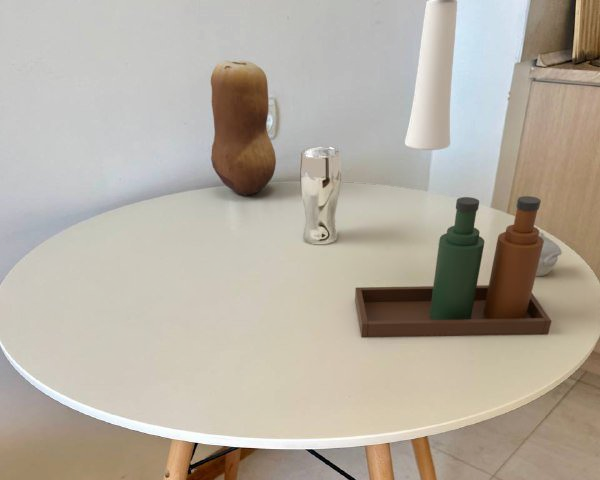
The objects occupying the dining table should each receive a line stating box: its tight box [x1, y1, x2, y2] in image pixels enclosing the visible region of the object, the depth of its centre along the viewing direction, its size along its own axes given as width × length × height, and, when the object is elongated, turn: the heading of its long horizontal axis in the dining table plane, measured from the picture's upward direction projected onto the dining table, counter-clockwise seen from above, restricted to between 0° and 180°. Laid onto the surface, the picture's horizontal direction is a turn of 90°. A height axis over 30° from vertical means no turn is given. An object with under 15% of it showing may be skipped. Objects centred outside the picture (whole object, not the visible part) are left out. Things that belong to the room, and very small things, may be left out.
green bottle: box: [430, 196, 486, 320], centre depth 77 cm, size 6×6×16 cm
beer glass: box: [299, 146, 342, 246], centre depth 103 cm, size 7×7×15 cm
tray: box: [354, 284, 552, 339], centre depth 82 cm, size 25×11×3 cm, turn 90°
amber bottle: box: [483, 195, 544, 319], centre depth 77 cm, size 6×6×16 cm
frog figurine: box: [536, 231, 563, 277], centre depth 91 cm, size 6×7×7 cm
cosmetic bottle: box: [404, 0, 458, 151], centre depth 73 cm, size 6×6×22 cm
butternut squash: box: [210, 60, 277, 197], centre depth 122 cm, size 14×13×25 cm
